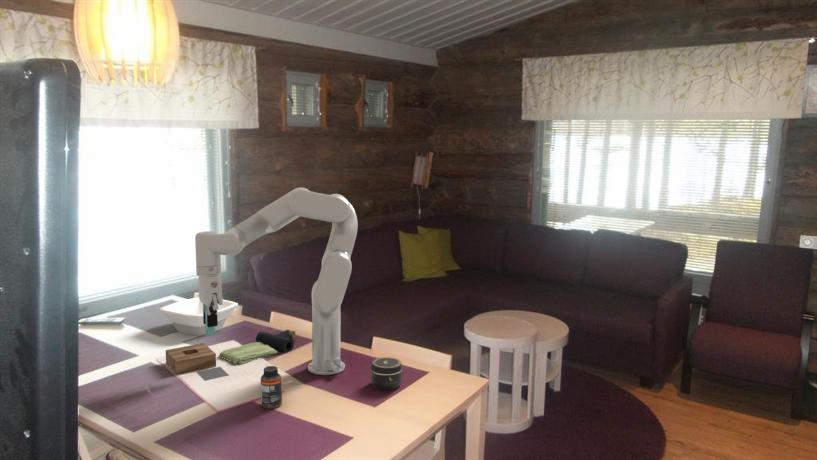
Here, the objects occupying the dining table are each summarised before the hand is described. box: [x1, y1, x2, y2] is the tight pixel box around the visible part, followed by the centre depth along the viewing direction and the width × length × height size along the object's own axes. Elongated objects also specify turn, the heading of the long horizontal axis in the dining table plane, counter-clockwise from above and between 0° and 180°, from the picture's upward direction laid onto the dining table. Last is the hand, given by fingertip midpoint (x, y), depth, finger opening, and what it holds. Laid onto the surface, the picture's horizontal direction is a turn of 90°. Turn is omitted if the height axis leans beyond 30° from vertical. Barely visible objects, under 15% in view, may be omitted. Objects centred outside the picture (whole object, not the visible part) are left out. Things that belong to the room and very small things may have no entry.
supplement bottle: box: [260, 365, 283, 410], centre depth 168 cm, size 6×6×11 cm
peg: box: [205, 303, 217, 336], centre depth 189 cm, size 3×3×10 cm
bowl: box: [158, 296, 239, 337], centre depth 237 cm, size 24×25×10 cm
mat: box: [196, 366, 230, 381], centre depth 191 cm, size 9×8×1 cm
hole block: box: [165, 342, 217, 376], centre depth 198 cm, size 13×13×5 cm
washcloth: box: [218, 341, 278, 366], centre depth 209 cm, size 13×18×3 cm
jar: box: [370, 356, 403, 391], centre depth 185 cm, size 10×10×8 cm
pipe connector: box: [255, 329, 296, 353], centre depth 220 cm, size 12×5×15 cm
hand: (210, 324), depth 189 cm, fingers closed on peg, 3 cm apart
